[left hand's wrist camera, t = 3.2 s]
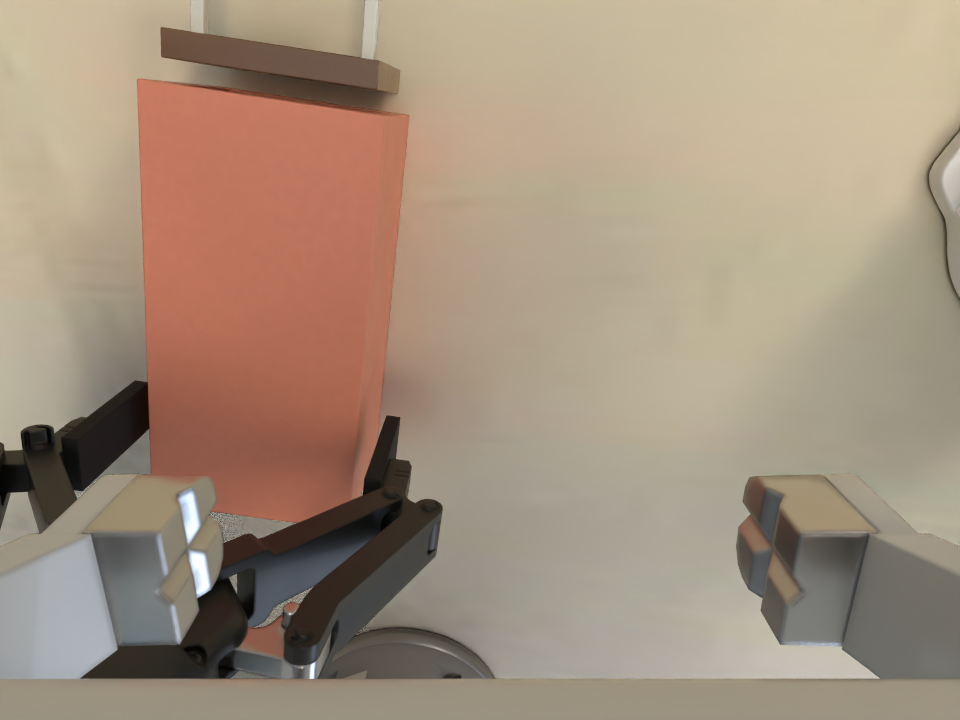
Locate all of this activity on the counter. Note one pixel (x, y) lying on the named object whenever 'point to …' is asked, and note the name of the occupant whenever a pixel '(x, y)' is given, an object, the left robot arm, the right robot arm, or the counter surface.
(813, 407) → the counter surface
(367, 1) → the drawer
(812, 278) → the counter surface
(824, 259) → the counter surface
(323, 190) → the tall pink open box
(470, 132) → the counter surface
